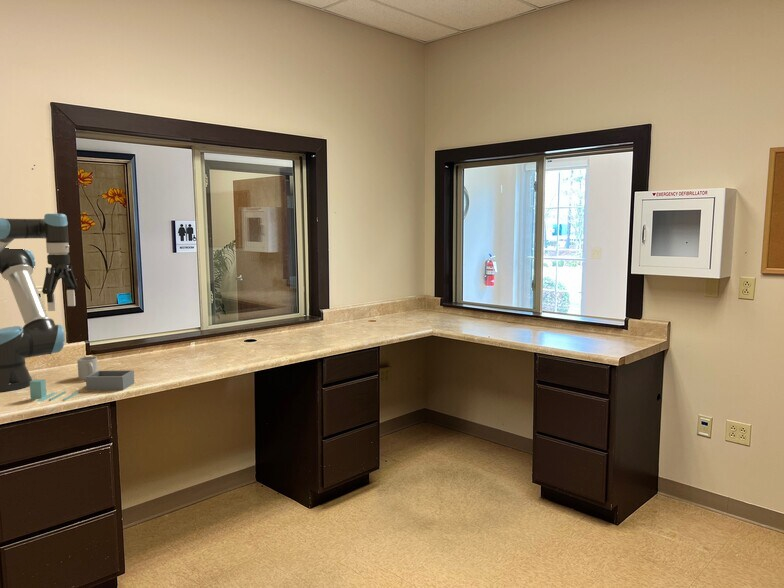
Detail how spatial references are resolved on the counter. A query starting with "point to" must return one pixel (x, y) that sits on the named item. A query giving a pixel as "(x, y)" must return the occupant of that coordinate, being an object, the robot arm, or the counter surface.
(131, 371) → the tub
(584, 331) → the counter surface
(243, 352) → the counter surface
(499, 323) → the counter surface
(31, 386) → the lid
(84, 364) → the cup
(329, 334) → the counter surface
